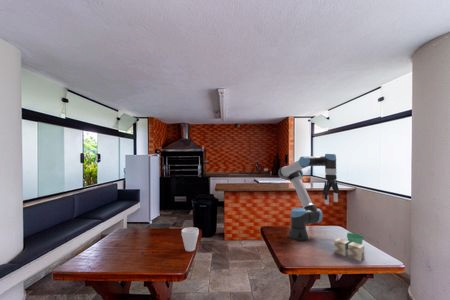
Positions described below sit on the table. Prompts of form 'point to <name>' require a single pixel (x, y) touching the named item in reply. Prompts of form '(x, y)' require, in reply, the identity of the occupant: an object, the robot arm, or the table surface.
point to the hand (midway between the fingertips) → (331, 203)
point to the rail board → (349, 257)
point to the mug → (354, 238)
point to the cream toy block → (340, 246)
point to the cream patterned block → (356, 251)
